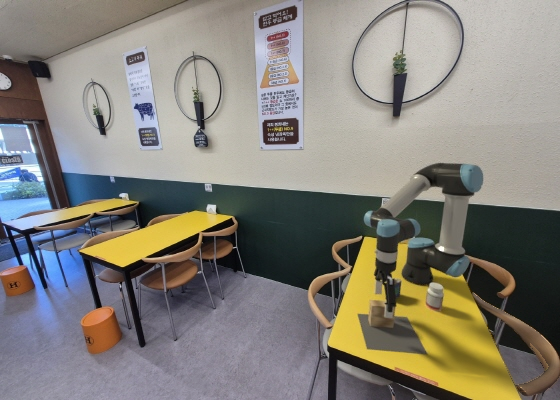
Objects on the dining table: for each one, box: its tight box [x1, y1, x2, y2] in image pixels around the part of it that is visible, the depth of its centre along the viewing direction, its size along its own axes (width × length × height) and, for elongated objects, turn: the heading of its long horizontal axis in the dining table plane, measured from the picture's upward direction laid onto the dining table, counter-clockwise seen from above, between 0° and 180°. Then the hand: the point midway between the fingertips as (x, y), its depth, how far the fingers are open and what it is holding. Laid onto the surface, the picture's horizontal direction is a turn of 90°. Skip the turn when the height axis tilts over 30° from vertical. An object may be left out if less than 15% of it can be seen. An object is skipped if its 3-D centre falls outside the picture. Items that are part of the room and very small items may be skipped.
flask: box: [385, 277, 402, 300], centre depth 108 cm, size 9×3×11 cm, turn 114°
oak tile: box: [368, 299, 396, 328], centre depth 92 cm, size 9×4×10 cm, turn 82°
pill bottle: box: [425, 282, 445, 312], centre depth 101 cm, size 6×6×11 cm
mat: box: [357, 313, 428, 355], centre depth 89 cm, size 21×18×1 cm
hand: (382, 304), depth 92 cm, fingers open, 13 cm apart
